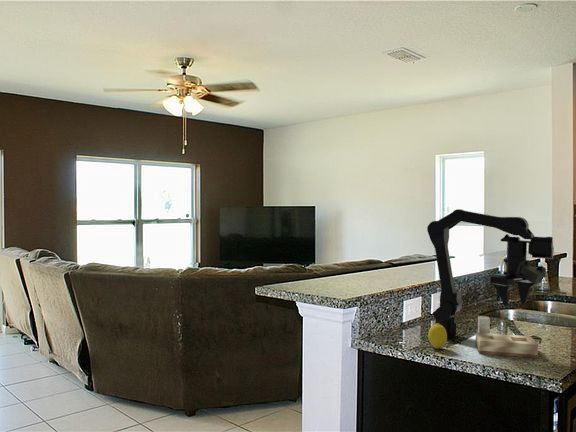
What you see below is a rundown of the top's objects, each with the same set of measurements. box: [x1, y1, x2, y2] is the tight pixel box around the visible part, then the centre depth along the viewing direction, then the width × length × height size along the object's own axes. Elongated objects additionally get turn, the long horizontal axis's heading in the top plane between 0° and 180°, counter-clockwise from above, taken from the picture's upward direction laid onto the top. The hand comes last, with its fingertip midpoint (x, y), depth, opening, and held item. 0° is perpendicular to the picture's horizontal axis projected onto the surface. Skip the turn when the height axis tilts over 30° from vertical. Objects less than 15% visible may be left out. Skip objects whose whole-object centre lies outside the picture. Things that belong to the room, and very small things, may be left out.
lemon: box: [427, 323, 448, 350], centre depth 155 cm, size 6×6×8 cm
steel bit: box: [477, 315, 491, 334], centre depth 164 cm, size 3×3×8 cm
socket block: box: [475, 332, 539, 359], centre depth 153 cm, size 16×10×4 cm, turn 76°
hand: (514, 305), depth 160 cm, fingers open, 9 cm apart
